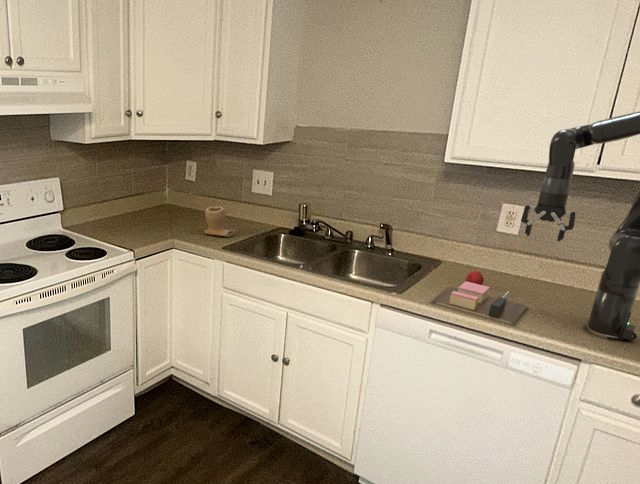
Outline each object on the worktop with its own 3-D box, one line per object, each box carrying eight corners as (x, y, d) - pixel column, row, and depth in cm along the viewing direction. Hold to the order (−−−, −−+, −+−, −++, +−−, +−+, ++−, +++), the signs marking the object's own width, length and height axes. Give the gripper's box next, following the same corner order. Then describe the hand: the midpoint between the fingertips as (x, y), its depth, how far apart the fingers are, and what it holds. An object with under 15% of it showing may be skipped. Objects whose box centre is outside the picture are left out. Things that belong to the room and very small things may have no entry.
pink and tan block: (476, 307, 181) (478, 297, 180) (474, 310, 179) (476, 299, 178) (451, 301, 186) (453, 290, 185) (449, 303, 184) (451, 293, 183)
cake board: (526, 308, 184) (527, 305, 184) (513, 325, 170) (513, 322, 170) (450, 289, 201) (450, 286, 200) (432, 303, 187) (432, 300, 187)
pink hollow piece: (199, 235, 268) (200, 207, 263) (210, 230, 278) (211, 203, 273) (226, 240, 260) (227, 211, 256) (236, 235, 270) (238, 207, 265)
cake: (487, 297, 191) (490, 287, 189) (480, 303, 184) (483, 293, 183) (463, 291, 196) (465, 281, 195) (456, 297, 190) (458, 287, 189)
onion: (465, 284, 205) (469, 265, 203) (482, 288, 202) (486, 268, 199) (463, 288, 201) (466, 269, 199) (480, 292, 197) (484, 272, 195)
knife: (496, 317, 173) (499, 306, 172) (488, 315, 175) (490, 304, 174) (510, 302, 186) (512, 291, 185) (502, 300, 188) (504, 290, 187)
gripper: (526, 189, 173) (516, 236, 178) (580, 195, 163) (567, 244, 168) (531, 186, 178) (521, 232, 183) (583, 192, 168) (571, 240, 173)
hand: (543, 238), depth 175 cm, fingers open, 8 cm apart
